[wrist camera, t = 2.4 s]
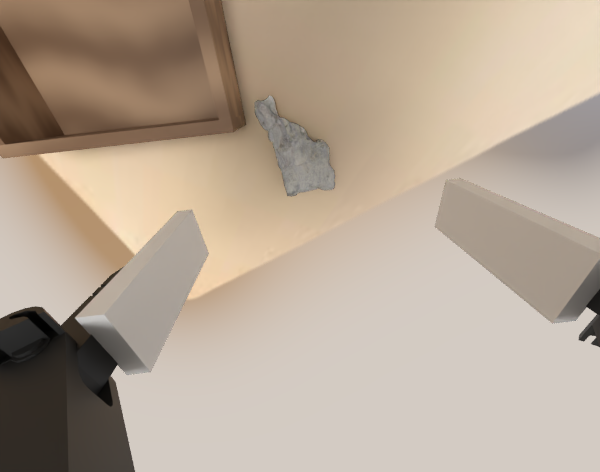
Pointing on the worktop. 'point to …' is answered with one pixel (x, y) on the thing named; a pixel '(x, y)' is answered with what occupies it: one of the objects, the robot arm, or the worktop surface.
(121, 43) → the walnut well
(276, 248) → the worktop surface
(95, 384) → the robot arm
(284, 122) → the mineral specimen
